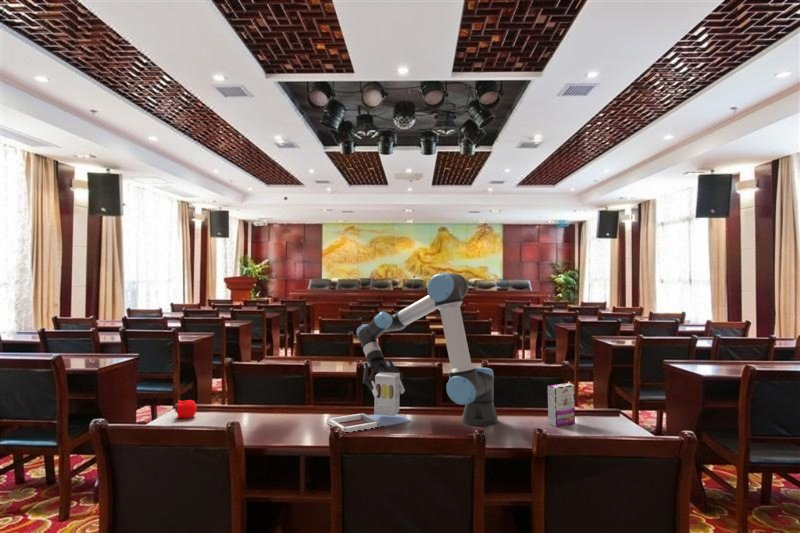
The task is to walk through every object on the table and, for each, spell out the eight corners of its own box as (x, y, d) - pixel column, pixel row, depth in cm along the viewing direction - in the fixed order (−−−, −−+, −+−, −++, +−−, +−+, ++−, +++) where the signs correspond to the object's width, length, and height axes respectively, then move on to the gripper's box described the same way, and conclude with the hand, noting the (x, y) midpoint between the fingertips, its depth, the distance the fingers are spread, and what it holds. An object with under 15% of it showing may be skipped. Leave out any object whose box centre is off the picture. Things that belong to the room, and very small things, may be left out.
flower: (196, 407, 207) (176, 408, 205) (195, 422, 210) (175, 423, 207) (197, 396, 214) (178, 397, 211) (197, 410, 217) (177, 411, 214)
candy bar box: (566, 420, 208) (566, 382, 209) (575, 423, 204) (575, 385, 205) (547, 424, 203) (546, 385, 204) (556, 427, 199) (555, 387, 199)
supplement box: (373, 415, 205) (373, 375, 206) (378, 409, 214) (379, 371, 215) (395, 416, 203) (395, 376, 204) (399, 410, 212) (400, 372, 213)
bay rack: (411, 421, 206) (411, 417, 206) (342, 433, 189) (342, 428, 189) (392, 413, 219) (392, 408, 219) (326, 423, 202) (326, 418, 203)
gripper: (393, 357, 229) (410, 395, 216) (346, 361, 216) (361, 402, 203) (399, 347, 225) (417, 385, 212) (351, 351, 212) (367, 392, 199)
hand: (389, 394), depth 207 cm, fingers closed on supplement box, 13 cm apart
